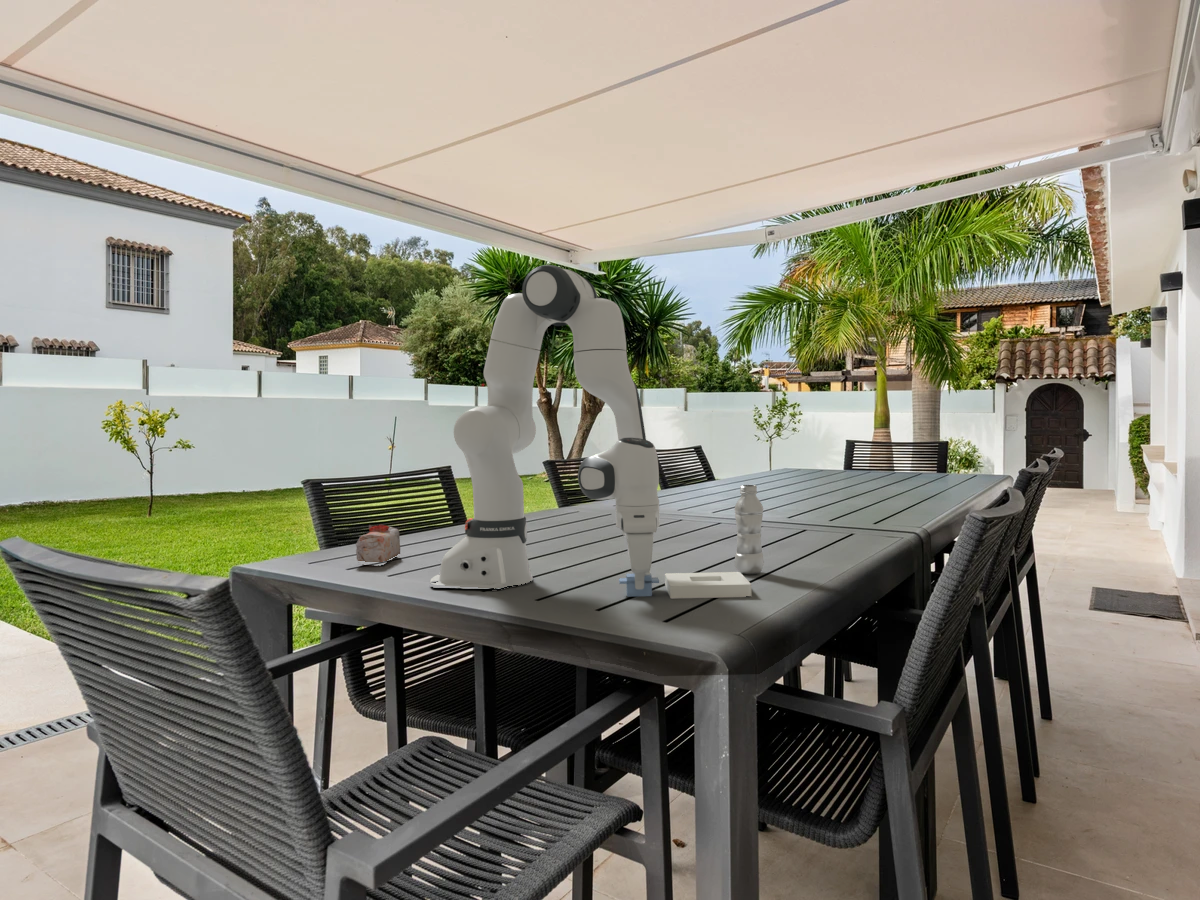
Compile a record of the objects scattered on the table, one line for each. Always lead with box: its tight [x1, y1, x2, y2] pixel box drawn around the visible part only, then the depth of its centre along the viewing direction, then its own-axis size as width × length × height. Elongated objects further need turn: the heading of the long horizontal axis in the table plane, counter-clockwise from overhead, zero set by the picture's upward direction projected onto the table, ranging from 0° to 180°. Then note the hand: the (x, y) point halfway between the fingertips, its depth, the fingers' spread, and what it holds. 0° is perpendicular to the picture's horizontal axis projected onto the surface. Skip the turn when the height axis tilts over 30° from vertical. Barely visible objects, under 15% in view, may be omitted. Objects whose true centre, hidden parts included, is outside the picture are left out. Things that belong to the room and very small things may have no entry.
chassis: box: [664, 571, 752, 599], centre depth 155 cm, size 16×12×2 cm
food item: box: [355, 523, 401, 562], centre depth 194 cm, size 14×8×10 cm, turn 177°
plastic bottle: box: [734, 484, 765, 575], centre depth 171 cm, size 6×7×20 cm
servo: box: [618, 571, 660, 598], centre depth 153 cm, size 8×3×5 cm, turn 90°
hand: (638, 586), depth 153 cm, fingers closed on servo, 3 cm apart
